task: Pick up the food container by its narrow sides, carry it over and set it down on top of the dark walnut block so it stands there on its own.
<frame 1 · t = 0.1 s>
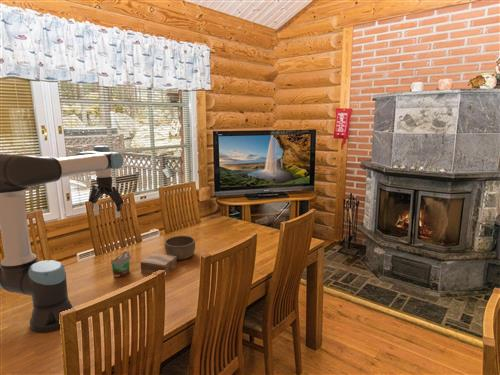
hand: (107, 216, 175), 28 cm above the table, fingers open, 13 cm apart
food container: (124, 274, 171), on the table
bowl: (180, 257, 194), on the table
walnut block: (159, 269, 176), on the table
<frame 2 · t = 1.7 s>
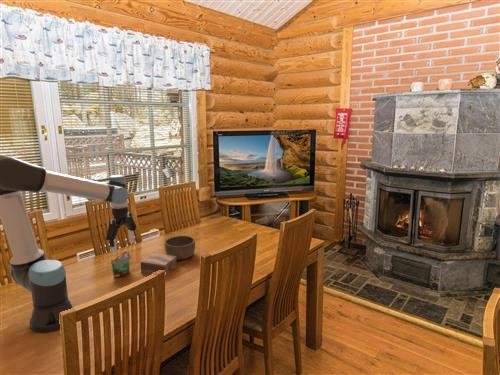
hand: (123, 247, 168), 14 cm above the table, fingers open, 13 cm apart
nothing on the table moved.
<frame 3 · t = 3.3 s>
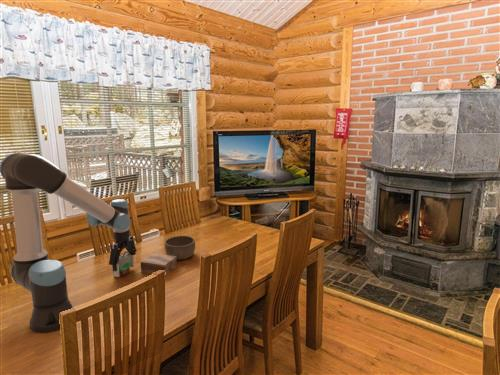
hand: (124, 271, 171), 2 cm above the table, fingers closed on food container, 11 cm apart
food container: (125, 274, 171), on the table, touching gripper
everything else where it was.
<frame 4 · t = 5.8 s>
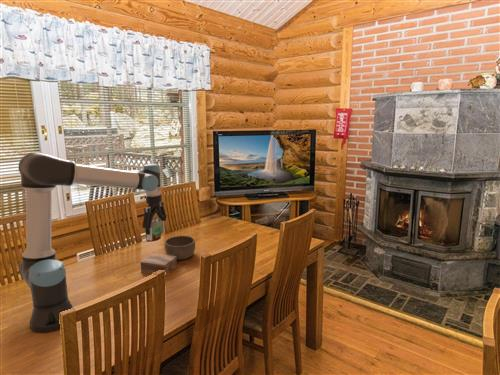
hand: (156, 236, 173), 19 cm above the table, fingers closed on food container, 11 cm apart
food container: (156, 239, 173), point 17 cm above the table, touching gripper
everything else where it was.
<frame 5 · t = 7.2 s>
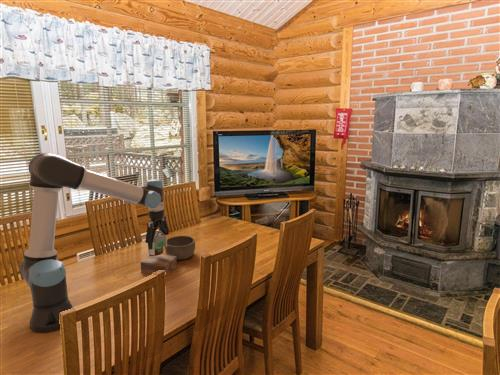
hand: (158, 250, 174), 11 cm above the table, fingers closed on food container, 11 cm apart
food container: (159, 253, 175), point 9 cm above the table, touching gripper
everything else where it was.
when the fingers open (9 cm above the table, at t = 8.2 s): food container drops 1 cm, resting on walnut block.
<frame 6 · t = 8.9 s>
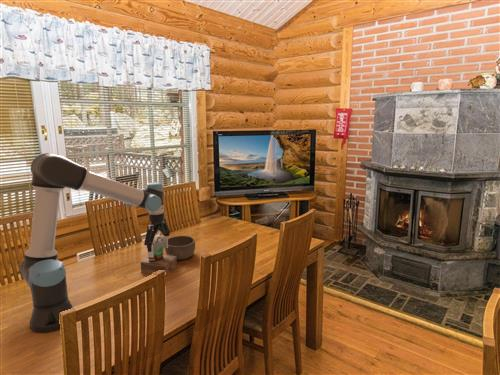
hand: (158, 252, 174), 10 cm above the table, fingers open, 13 cm apart
food container: (158, 259, 176), point 6 cm above the table, touching walnut block
everything else where it was.
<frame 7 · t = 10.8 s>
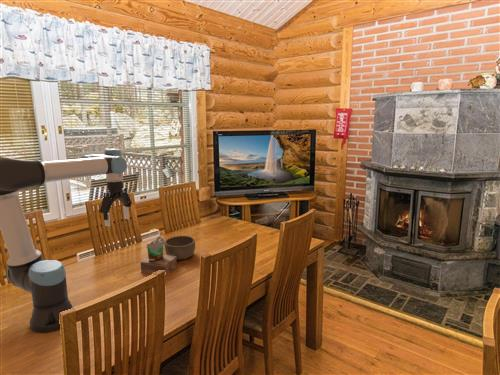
hand: (117, 222, 168), 27 cm above the table, fingers open, 13 cm apart
nothing on the table moved.
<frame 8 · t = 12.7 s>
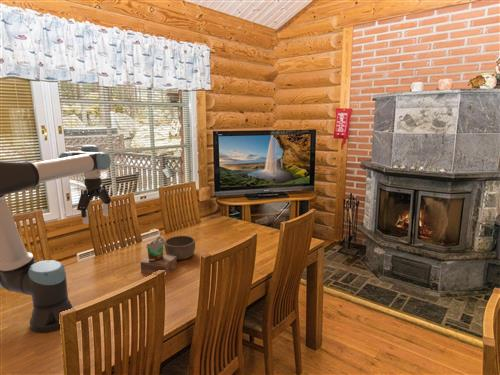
hand: (96, 219, 166), 29 cm above the table, fingers open, 13 cm apart
nothing on the table moved.
at the end: food container inside the target area on the walnut block (0.4 cm from its centre), point 5.8 cm above the walnut block's base; food container tilted 0°; food container touching walnut block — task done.
